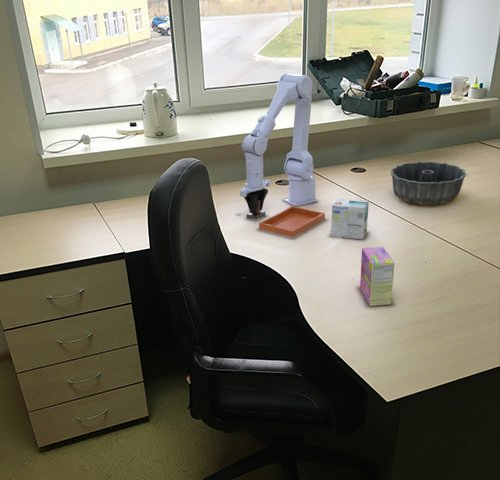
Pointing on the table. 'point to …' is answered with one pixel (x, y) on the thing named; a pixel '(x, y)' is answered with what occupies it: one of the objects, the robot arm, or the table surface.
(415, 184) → the bundt pan
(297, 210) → the tray
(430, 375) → the table surface
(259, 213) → the stamp
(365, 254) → the box
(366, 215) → the light bulb box
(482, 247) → the table surface
